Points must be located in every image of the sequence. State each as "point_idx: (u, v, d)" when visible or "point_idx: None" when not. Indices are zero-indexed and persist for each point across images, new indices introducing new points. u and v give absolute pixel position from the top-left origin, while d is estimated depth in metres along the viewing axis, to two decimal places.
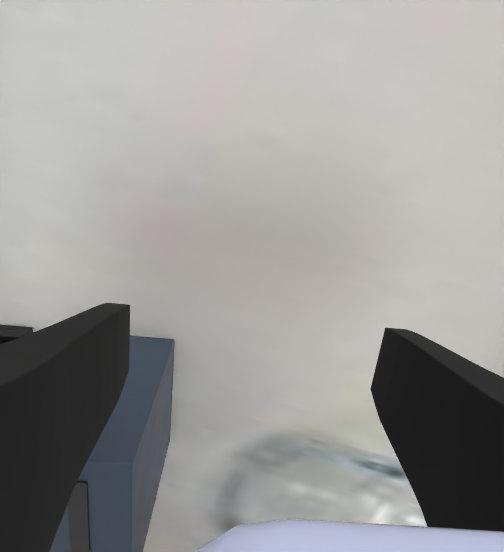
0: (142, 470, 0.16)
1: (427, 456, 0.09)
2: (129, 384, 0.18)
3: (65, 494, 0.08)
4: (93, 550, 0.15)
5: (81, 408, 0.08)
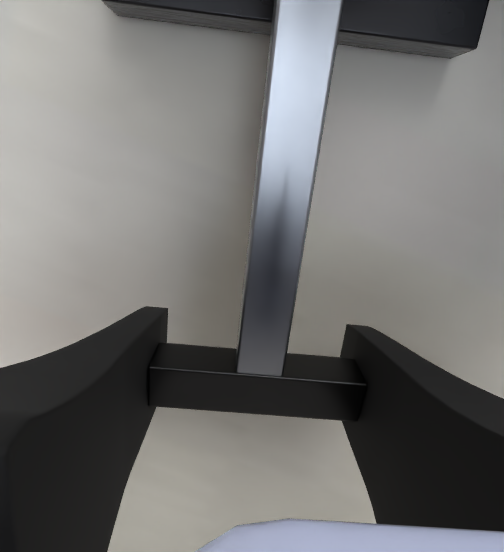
0: None
1: (378, 453, 0.08)
2: None
3: (117, 497, 0.08)
4: None
5: (132, 411, 0.08)
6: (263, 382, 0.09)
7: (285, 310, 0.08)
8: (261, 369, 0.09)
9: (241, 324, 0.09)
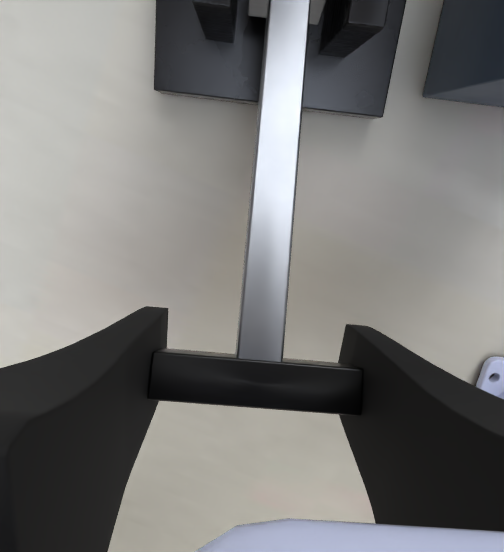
0: None
1: (377, 452, 0.09)
2: None
3: (118, 497, 0.08)
4: None
5: (131, 412, 0.08)
6: (263, 368, 0.09)
7: (280, 290, 0.10)
8: (261, 353, 0.09)
9: (241, 306, 0.10)
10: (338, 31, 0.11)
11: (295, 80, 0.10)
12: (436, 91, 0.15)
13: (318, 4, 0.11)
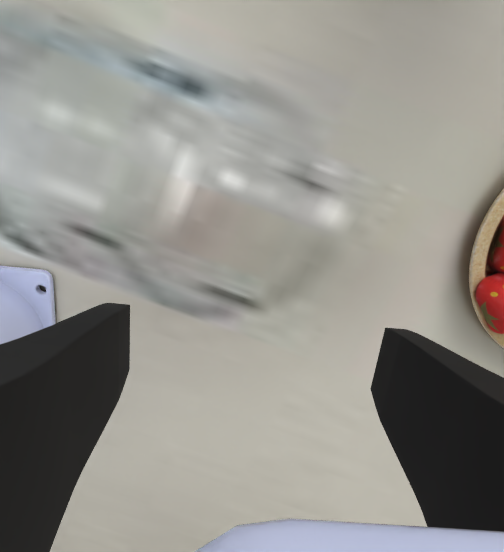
0: None
1: (427, 456, 0.09)
2: None
3: (64, 494, 0.08)
4: None
5: (81, 408, 0.08)
6: None
7: None
8: None
9: None
10: None
11: None
12: None
13: None
